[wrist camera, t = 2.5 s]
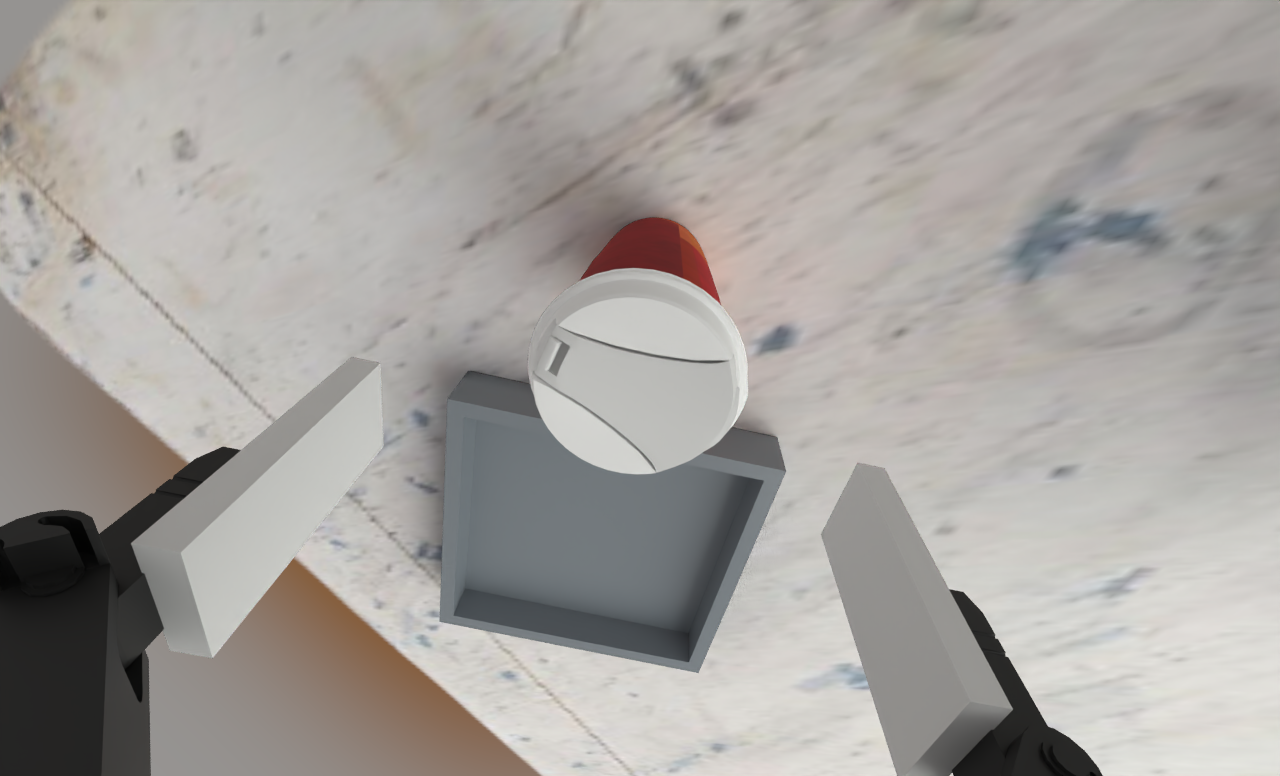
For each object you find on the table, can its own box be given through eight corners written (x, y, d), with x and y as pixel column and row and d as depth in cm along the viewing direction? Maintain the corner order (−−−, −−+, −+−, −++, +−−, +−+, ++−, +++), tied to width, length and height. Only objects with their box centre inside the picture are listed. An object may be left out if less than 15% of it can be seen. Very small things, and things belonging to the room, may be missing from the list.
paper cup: (564, 296, 31) (487, 432, 19) (620, 168, 28) (570, 235, 16) (684, 354, 33) (684, 517, 20) (753, 238, 29) (803, 352, 17)
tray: (777, 437, 35) (785, 471, 32) (697, 632, 45) (698, 672, 42) (468, 370, 34) (447, 398, 31) (456, 584, 44) (439, 621, 41)
